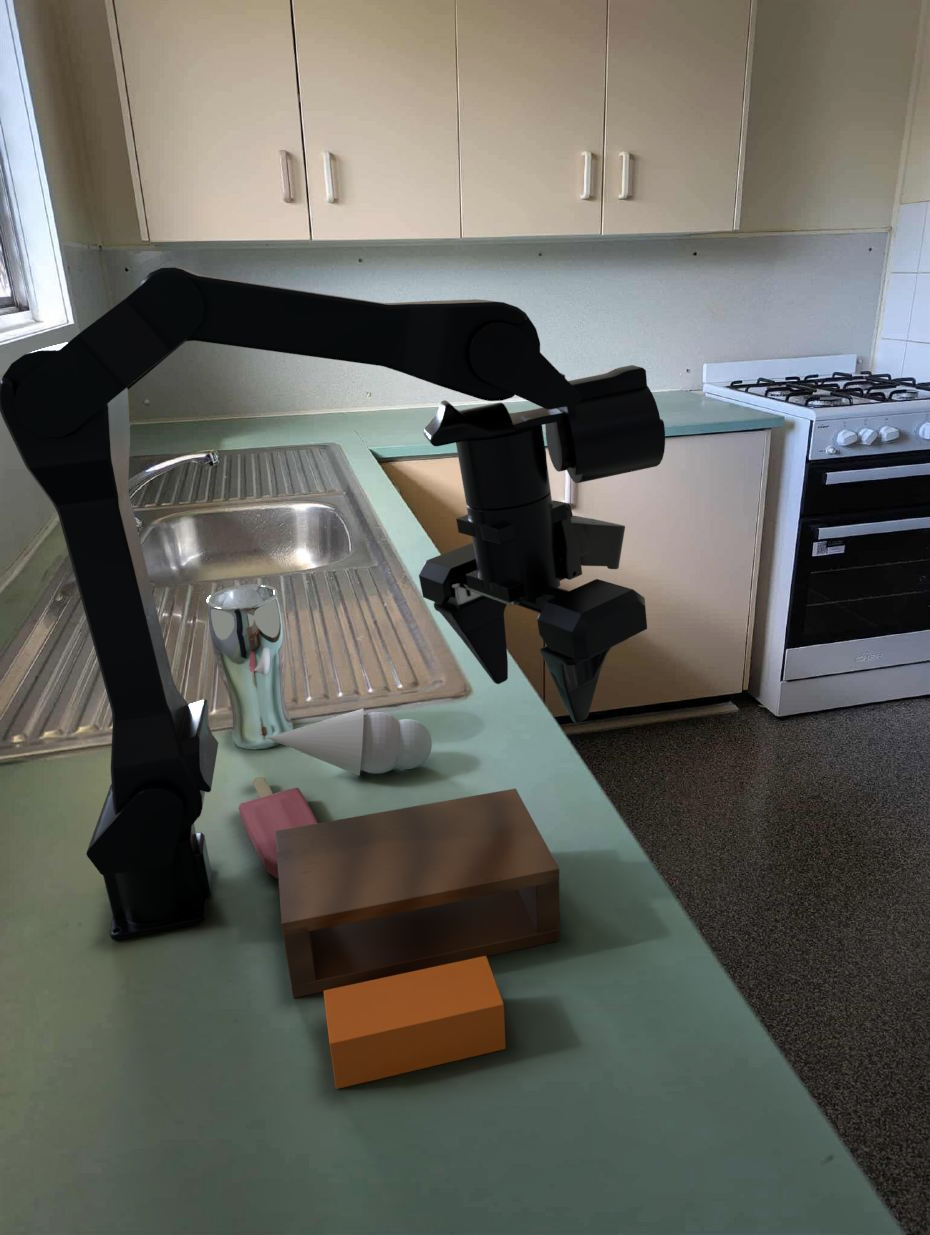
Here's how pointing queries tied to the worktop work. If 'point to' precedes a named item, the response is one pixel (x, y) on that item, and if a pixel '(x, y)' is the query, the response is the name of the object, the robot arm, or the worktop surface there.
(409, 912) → the shelf
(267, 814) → the popsicle
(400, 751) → the ice cream cone
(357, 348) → the robot arm
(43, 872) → the worktop surface
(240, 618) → the beer glass
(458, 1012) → the orange rectangular block
